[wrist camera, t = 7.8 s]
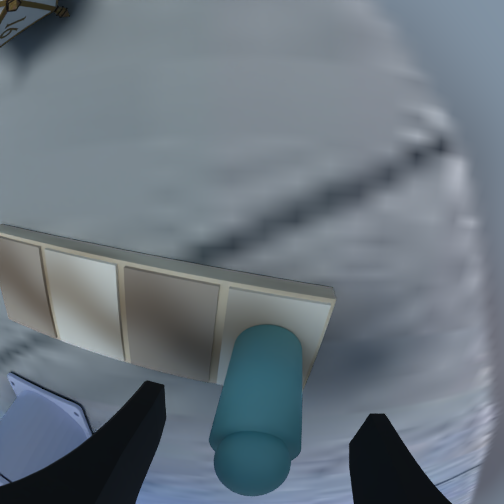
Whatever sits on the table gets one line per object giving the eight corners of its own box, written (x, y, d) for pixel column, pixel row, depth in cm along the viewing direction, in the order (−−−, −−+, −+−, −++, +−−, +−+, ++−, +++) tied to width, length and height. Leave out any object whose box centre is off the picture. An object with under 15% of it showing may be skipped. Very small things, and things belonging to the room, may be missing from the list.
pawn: (288, 381, 14) (277, 513, 8) (226, 364, 14) (190, 495, 8) (312, 336, 13) (316, 484, 6) (244, 315, 13) (206, 463, 6)
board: (299, 382, 16) (300, 399, 14) (18, 311, 16) (8, 320, 15) (332, 287, 13) (337, 302, 12) (1, 224, 13) (-12, 231, 12)
